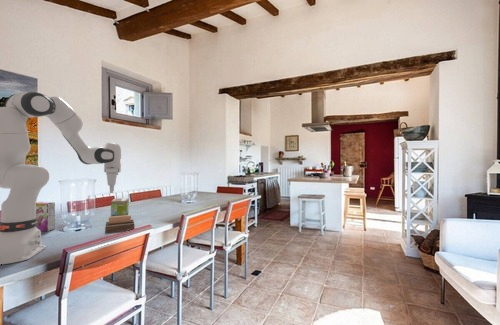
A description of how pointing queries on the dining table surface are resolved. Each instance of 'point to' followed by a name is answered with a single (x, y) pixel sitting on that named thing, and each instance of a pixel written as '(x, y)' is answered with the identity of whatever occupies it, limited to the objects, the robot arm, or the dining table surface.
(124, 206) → the tea box
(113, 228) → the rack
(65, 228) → the dining table surface
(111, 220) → the tile strip
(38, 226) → the candy bar box
